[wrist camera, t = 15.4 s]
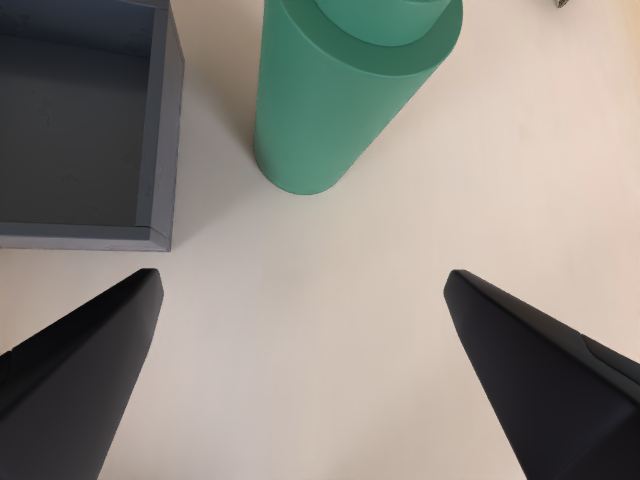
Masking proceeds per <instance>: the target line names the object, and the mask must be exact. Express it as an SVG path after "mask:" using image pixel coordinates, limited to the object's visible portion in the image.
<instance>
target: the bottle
mask: <svg viewBox="0 0 640 480" xmlns="http://www.w3.org/2000/svg"><path fill="white" fill-rule="evenodd" d="M462 19H463V5H462V0H265V4H264V16H263V29H262V41H261V54H260V67H259V79H258V92H257V104H256V117H255V129H254V142H253V147H254V154H255V158H256V161H257V164H258V166H259V167H260V169H261V171H262V172H263V174H264V175H265V176H266V177H267V178H268V179H269V180H270V181H271V182H272V183H273V184H275V185H276V186H278V187H279V188H281V189H283V190H285V191H288V192H290V193H294V194H300V195H311V194H317V193H320V192H323V191H325V190H327V189H329V188H330V187H332V186H333V185H334V184H335V183H336V182H337V181H338V180H339V179H340V178H341V177H342V175H343V174H344V173H345V172H346V171H347V170H348V169H349V168H350V166H351V165H352V164H353V163H354V162H355V161H356V160H357V158H358V157H359V156H360V155H361V154H362V153H363V152H364V151H365V149H366V148H367V147H368V146H369V145H370V144H371V143H372V141H373V140H374V139H375V138H376V137H377V136H378V135H379V133H380V132H381V131H382V130H383V129H384V128H385V127H386V126H387V124H388V123H389V122H390V121H391V120H392V119H393V118H394V116H395V115H396V114H397V113H398V112H399V111H400V110H401V109H402V107H403V106H404V105H405V104H406V103H407V102H408V101H409V99H410V98H411V97H412V96H413V95H414V94H415V93H416V91H417V90H418V89H419V88H420V87H421V86H422V85H423V84H424V82H425V81H426V80H427V79H428V78H429V77H430V76H431V74H432V73H433V72H434V71H435V70H436V69H437V68H438V67H439V65H440V64H441V63H442V62H443V61H444V60H445V59H446V57H447V56H448V55H449V54H450V53H451V51H452V49H453V48H454V46H455V44H456V42H457V40H458V37H459V34H460V31H461V26H462Z"/></svg>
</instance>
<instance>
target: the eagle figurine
mask: <svg viewBox="0 0 640 480" xmlns="http://www.w3.org/2000/svg"><path fill="white" fill-rule="evenodd" d="M568 1H569V0H560V1H559V6H558V8H561V7H562V6H564V5H565V4H566V3H567V2H568Z"/></svg>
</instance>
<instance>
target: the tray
mask: <svg viewBox="0 0 640 480" xmlns="http://www.w3.org/2000/svg"><path fill="white" fill-rule="evenodd" d="M183 73H184V56H183V52H182V48H181V44H180V40H179V36H178V32H177V28H176V24H175V20H174V16H173V12H172V8H171V4H170V0H0V248H16V249H61V250H106V251H152V252H170V251H171V240H172V226H173V212H174V198H175V184H176V170H177V156H178V142H179V128H180V114H181V100H182V87H183Z"/></svg>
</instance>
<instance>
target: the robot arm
mask: <svg viewBox="0 0 640 480" xmlns="http://www.w3.org/2000/svg"><path fill="white" fill-rule="evenodd" d="M163 296H164V291H163V286H162V282H161V278H160V273H159V271H158V270H157V269H155V268H142V269H140V270H138V271H137V272H135V273H133V274H132V275H130V276H128V277H127V278H125V279H124V280H122V281H120V282H119V283H117V284H116V285H114V286H112V287H111V288H109V289H108V290H106V291H104V292H103V293H101V294H99V295H98V296H96V297H95V298H93V299H91V300H90V301H88V302H87V303H85V304H83V305H82V306H80V307H78V308H77V309H75V310H74V311H72V312H70V313H69V314H67V315H66V316H64V317H62V318H61V319H59V320H57V321H56V322H54V323H53V324H51V325H49V326H48V327H46V328H45V329H43V330H41V331H40V332H38V333H36V334H35V335H33V336H32V337H30V338H28V339H27V340H25V341H23V342H22V343H20V344H19V345H17V346H15V347H14V348H13V349H12V351H7V352H6V353H4V354H2V355H1V356H0V480H97V478H98V475H99V473H100V470H101V468H102V465H103V463H104V461H105V458H106V456H107V453H108V451H109V448H110V446H111V443H112V441H113V438H114V436H115V433H116V431H117V428H118V426H119V423H120V421H121V418H122V416H123V413H124V411H125V408H126V406H127V403H128V401H129V398H130V396H131V393H132V391H133V388H134V386H135V383H136V381H137V378H138V376H139V373H140V371H141V368H142V366H143V363H144V361H145V359H146V356H147V353H148V351H149V348H150V345H151V342H152V338H153V335H154V331H155V327H156V324H157V320H158V316H159V312H160V309H161V305H162V301H163ZM444 298H445V300H446V303H447V306H448V309H449V312H450V314H451V317H452V320H453V323H454V326H455V328H456V331H457V334H458V336H459V338H460V341H461V343H462V345H463V347H464V349H465V351H466V353H467V355H468V358H469V360H470V362H471V364H472V366H473V368H474V370H475V372H476V374H477V376H478V378H479V380H480V382H481V385H482V387H483V389H484V391H485V393H486V395H487V397H488V399H489V401H490V403H491V405H492V407H493V409H494V412H495V414H496V416H497V418H498V420H499V422H500V424H501V426H502V428H503V430H504V432H505V434H506V437H507V439H508V441H509V443H510V445H511V447H512V449H513V451H514V453H515V455H516V457H517V459H518V461H519V464H520V466H521V468H522V470H523V472H524V474H525V476H526V478H527V480H640V364H639V363H637V362H635V361H633V360H631V359H629V358H627V357H625V356H623V355H621V354H619V353H617V352H615V351H613V350H611V349H610V348H608V347H606V346H604V345H602V344H600V343H598V342H596V341H595V340H593V339H591V338H589V337H587V336H586V335H584V334H580V332H578V331H576V330H574V329H573V328H571V327H569V326H567V325H565V324H563V323H562V322H560V321H558V320H556V319H554V318H553V317H551V316H549V315H547V314H545V313H543V312H542V311H540V310H538V309H536V308H534V307H532V306H531V305H529V304H527V303H525V302H523V301H521V300H520V299H518V298H516V297H514V296H512V295H511V294H509V293H507V292H505V291H503V290H501V289H500V288H498V287H496V286H494V285H492V284H490V283H489V282H487V281H485V280H483V279H481V278H479V277H478V276H476V275H474V274H472V273H470V272H468V271H467V270H452V271H451V272H450V274H449V277H448V279H447V282H446V285H445V287H444Z"/></svg>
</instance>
